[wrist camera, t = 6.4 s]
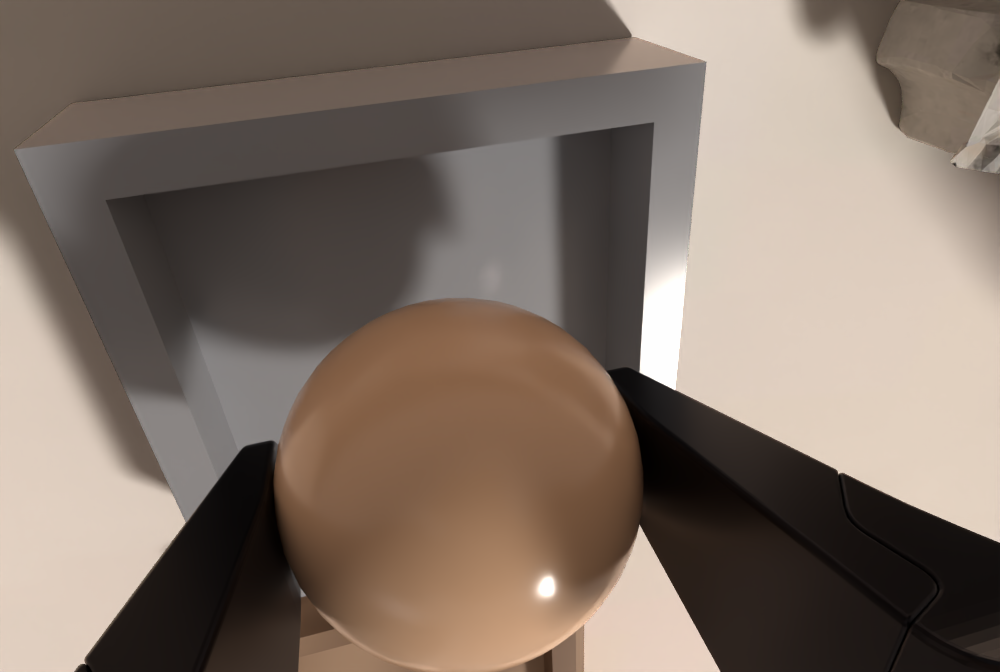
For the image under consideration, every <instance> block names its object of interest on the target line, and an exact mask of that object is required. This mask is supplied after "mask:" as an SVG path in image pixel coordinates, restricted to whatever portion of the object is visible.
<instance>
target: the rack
mask: <svg viewBox="0 0 1000 672" xmlns="http://www.w3.org/2000/svg"><path fill="white" fill-rule="evenodd" d="M298 672H416V671H412V670H409V669H406V668H402V667H399V666H396V665H393V664H390V663H387V662H385V661H383V660H381V659H379V658H377V657H375V656H373V655H371V654H369V653H367V652H366V651H364V650H362V649H360V648H359V647H357V646H356V645H354V644H353V643H351V642H350V641H348V640H347V639H346V638H345V637H343V636H342V635H341V634H340V633H339V632H338V631H337V630H336V629H335V628H333V627H332V626H331V625H330V624H329V623H328V622H327V621H326V620H325V619H324V618H323V617H322V616H321V615H320V614H319V612H318V611H317V610H316V608H315V607H314V606H313V604H312V603H311V602H310V600H309V599H308V598H307V596H304V597H301V628H300V647H299V667H298ZM497 672H584V625H583V626H582V627H580V628H579V629H578V630H577V631H576V632H574V633H573V634H572V635H571V636H569V637H568V638H567V639H566V640H564V641H563V642H561V643H560V644H559V645H557V646H556V647H554V648H553V649H551V650H549V651H548V652H546V653H544V654H542V655H540V656H538V657H536V658H534V659H532V660H530V661H528V662H525V663H523V664H520V665H518V666H514V667H511V668H508V669H505V670H501V671H497Z"/></svg>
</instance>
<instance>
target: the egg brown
mask: <svg viewBox="0 0 1000 672" xmlns="http://www.w3.org/2000/svg"><path fill="white" fill-rule="evenodd" d="M643 487H644V485H643V464H642V457H641V451H640V446H639V440H638V436H637V433H636V429H635V426H634V423H633V420H632V418H631V415H630V413H629V410H628V407H627V405H626V403H625V401H624V399H623V397H622V395H621V394H620V392H619V390H618V388H617V387H616V385H615V383H614V382H613V380H612V378H611V377H610V375H609V374H608V372H607V371H606V370H605V369H604V368H603V366H602V365H601V364H600V363H599V362H598V361H597V359H596V358H595V357H594V356H593V355H592V354H591V353H590V352H589V350H588V349H587V348H586V347H585V346H583V345H582V344H581V343H580V342H578V341H577V340H576V339H575V338H573V337H572V336H571V335H570V334H568V333H567V332H566V331H565V330H563V329H562V328H561V327H559V326H557V325H556V324H554V323H552V322H550V321H549V320H547V319H545V318H543V317H541V316H539V315H537V314H534V313H532V312H530V311H527V310H525V309H522V308H520V307H517V306H514V305H510V304H506V303H502V302H498V301H493V300H485V299H476V298H443V299H435V300H427V301H423V302H419V303H415V304H411V305H407V306H404V307H402V308H399V309H396V310H393V311H391V312H388V313H386V314H384V315H382V316H380V317H378V318H376V319H374V320H372V321H370V322H369V323H367V324H366V325H364V326H362V327H361V328H359V329H358V330H356V331H355V332H353V333H352V334H351V335H349V336H348V337H347V338H346V339H344V340H343V341H342V342H341V343H340V344H338V345H337V346H336V347H335V348H334V349H333V350H331V351H330V352H329V354H328V355H327V356H326V357H325V358H324V359H323V360H322V361H321V362H320V363H319V365H318V366H317V367H316V368H315V370H314V371H313V373H312V374H311V376H310V377H309V378H308V380H307V381H306V383H305V384H304V386H303V387H302V389H301V390H300V392H299V393H298V395H297V397H296V399H295V401H294V403H293V405H292V407H291V409H290V411H289V414H288V416H287V419H286V422H285V424H284V427H283V431H282V434H281V437H280V440H279V444H278V449H277V456H276V463H275V470H274V478H273V489H274V507H275V516H276V523H277V528H278V531H279V535H280V539H281V543H282V547H283V551H284V555H285V557H286V559H287V561H288V563H289V565H290V567H291V570H292V572H293V574H294V576H295V578H296V580H297V582H298V584H299V586H300V588H301V589H302V591H303V592H304V593H305V595H306V596H307V598H308V599H309V600H310V602H311V603H312V604H313V606H314V607H315V608H316V610H317V611H318V612H319V614H320V615H321V616H322V617H323V618H324V619H325V620H326V621H327V622H328V623H329V624H330V625H331V626H332V627H333V628H335V629H336V630H337V631H338V632H339V633H340V634H341V635H342V636H343V637H345V638H346V639H347V640H348V641H350V642H351V643H353V644H354V645H356V646H357V647H359V648H360V649H362V650H364V651H366V652H367V653H369V654H371V655H373V656H375V657H377V658H379V659H381V660H383V661H385V662H387V663H390V664H393V665H396V666H399V667H402V668H406V669H409V670H412V671H416V672H497V671H501V670H505V669H508V668H511V667H514V666H518V665H520V664H523V663H525V662H528V661H530V660H532V659H534V658H536V657H538V656H540V655H542V654H544V653H546V652H548V651H549V650H551V649H553V648H554V647H556V646H557V645H559V644H560V643H561V642H563V641H564V640H566V639H567V638H568V637H569V636H571V635H572V634H573V633H574V632H576V631H577V630H578V629H579V628H580V627H582V626H583V625H584V624H585V623H586V622H587V621H588V620H589V619H590V618H591V617H592V616H593V615H594V614H595V612H596V611H597V610H598V609H599V607H600V606H601V605H602V604H603V602H604V601H605V600H606V598H607V597H608V595H609V594H610V593H611V591H612V590H613V588H614V587H615V585H616V583H617V582H618V580H619V578H620V576H621V574H622V572H623V570H624V568H625V566H626V563H627V561H628V559H629V557H630V554H631V552H632V549H633V546H634V543H635V540H636V537H637V532H638V528H639V524H640V519H641V513H642V506H643Z"/></svg>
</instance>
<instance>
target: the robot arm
mask: <svg viewBox="0 0 1000 672" xmlns="http://www.w3.org/2000/svg"><path fill="white" fill-rule="evenodd" d="M606 371H607V372H608V374H609V375H610V377H611V378H612V380H613V382H614V383H615V385H616V387H617V388H618V390H619V392H620V394H621V395H622V397H623V399H624V401H625V403H626V405H627V407H628V410H629V413H630V415H631V418H632V420H633V423H634V426H635V429H636V433H637V436H638V440H639V446H640V451H641V457H642V464H643V485H644V487H643V506H642V513H641V519H640V526H641V528H642V530H643V532H644V533H645V535H646V537H647V539H648V541H649V543H650V544H651V546H652V548H653V550H654V552H655V553H656V555H657V557H658V559H659V561H660V563H661V564H662V566H663V568H664V570H665V572H666V573H667V575H668V577H669V579H670V581H671V583H672V584H673V586H674V588H675V590H676V592H677V593H678V595H679V597H680V599H681V601H682V603H683V604H684V606H685V608H686V610H687V612H688V613H689V615H690V617H691V619H692V621H693V623H694V624H695V626H696V628H697V630H698V632H699V633H700V635H701V637H702V639H703V641H704V643H705V644H706V646H707V648H708V650H709V652H710V653H711V655H712V657H713V659H714V661H715V663H716V664H717V666H718V668H719V670H720V672H1000V543H999V542H996V541H994V540H992V539H989V538H987V537H984V536H982V535H979V534H977V533H975V532H972V531H970V530H967V529H965V528H962V527H960V526H958V525H955V524H953V523H951V522H948V521H946V520H944V519H941V518H939V517H937V516H934V515H932V514H930V513H927V512H925V511H923V510H921V509H918V508H916V507H914V506H911V505H909V504H907V503H905V502H903V501H901V500H898V499H896V498H894V497H892V496H890V495H888V494H886V493H884V492H882V491H879V490H877V489H875V488H873V487H871V486H869V485H867V484H865V483H863V482H861V481H859V480H857V479H855V478H853V477H851V476H849V475H847V474H845V473H840V474H839V475H838V471H837V470H836V469H834V468H832V467H830V466H828V465H826V464H824V463H822V462H820V461H818V460H816V459H814V458H812V457H810V456H808V455H806V454H804V453H802V452H800V451H798V450H796V449H794V448H792V447H790V446H788V445H786V444H783V443H781V442H779V441H777V440H775V439H773V438H771V437H769V436H767V435H765V434H763V433H761V432H759V431H757V430H755V429H753V428H751V427H749V426H747V425H745V424H743V423H741V422H739V421H737V420H735V419H733V418H731V417H729V416H727V415H725V414H723V413H721V412H719V411H717V410H715V409H713V408H711V407H709V406H707V405H705V404H703V403H701V402H699V401H697V400H695V399H692V398H690V397H688V396H686V395H684V394H682V393H680V392H678V391H676V390H674V389H672V388H670V387H668V386H666V385H664V384H662V383H660V382H658V381H656V380H654V379H652V378H650V377H648V376H646V375H644V374H642V373H640V372H638V371H636V370H634V369H632V368H629V367H621V368H616V369H611V370H606ZM277 449H278V444H277V443H276V442H275V441H273V440H269V441H264V442H259V443H254V444H249V445H246V446H244V447H243V448H242V449H241V450H240V451H239V453H238V454H237V455H236V457H235V458H234V459H233V461H232V462H231V463H230V465H229V466H228V467H227V469H226V470H225V471H224V473H223V474H222V475H221V477H220V478H219V479H218V481H217V482H216V483H215V485H214V486H213V487H212V489H211V490H210V491H209V493H208V494H207V495H206V497H205V498H204V499H203V501H202V502H201V503H200V505H199V506H198V507H197V509H196V510H195V511H194V513H193V514H192V515H191V517H190V518H189V519H188V521H187V522H186V523H185V525H184V526H183V527H182V529H181V530H180V531H179V533H178V534H177V535H176V537H175V538H174V539H173V541H172V542H171V543H170V545H169V546H168V547H167V549H166V550H165V552H164V553H163V554H162V556H161V557H160V558H159V560H158V561H157V562H156V564H155V565H154V566H153V568H152V569H151V570H150V572H149V573H148V574H147V576H146V577H145V578H144V580H143V581H142V582H141V584H140V585H139V586H138V588H137V589H136V590H135V592H134V593H133V594H132V596H131V597H130V598H129V600H128V601H127V602H126V604H125V605H124V606H123V608H122V609H121V610H120V612H119V613H118V614H117V616H116V617H115V618H114V620H113V621H112V622H111V624H110V625H109V626H108V628H107V629H106V630H105V632H104V633H103V634H102V636H101V637H100V638H99V640H98V641H97V642H96V644H95V645H94V646H93V648H92V649H91V650H90V652H89V653H88V655H87V656H86V657H85V663H86V664H81V665H79V666H78V667H77V669H76V670H75V671H74V672H298V667H299V647H300V628H301V588H300V586H299V584H298V582H297V580H296V578H295V576H294V574H293V572H292V570H291V567H290V565H289V563H288V561H287V559H286V557H285V555H284V551H283V547H282V543H281V539H280V535H279V531H278V528H277V523H276V516H275V507H274V489H273V478H274V470H275V463H276V456H277Z"/></svg>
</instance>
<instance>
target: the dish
mask: <svg viewBox="0 0 1000 672" xmlns="http://www.w3.org/2000/svg"><path fill="white" fill-rule="evenodd" d="M705 71H706V62H705V61H703V60H700V59H697V58H694V57H691V56H688V55H685V54H682V53H679V52H677V51H674V50H671V49H668V48H665V47H662V46H659V45H656V44H653V43H651V42H648V41H645V40H642V39H639V38H636V37H631V38H622V39H614V40H605V41H597V42H588V43H580V44H571V45H563V46H554V47H545V48H537V49H528V50H520V51H511V52H503V53H494V54H486V55H477V56H469V57H460V58H452V59H443V60H435V61H426V62H418V63H409V64H401V65H392V66H384V67H375V68H367V69H358V70H349V71H341V72H332V73H324V74H315V75H307V76H298V77H290V78H281V79H273V80H264V81H256V82H247V83H239V84H230V85H222V86H213V87H205V88H196V89H188V90H179V91H171V92H162V93H154V94H145V95H136V96H128V97H119V98H111V99H102V100H94V101H85V102H77V103H71V104H70V105H69V106H67V107H66V108H65V109H64V110H62V111H61V112H60V113H59V114H57V115H56V116H55V117H54V118H52V119H51V120H50V121H49V122H47V123H46V124H45V125H44V126H42V127H41V128H40V129H39V130H37V131H36V132H35V133H34V134H32V135H31V136H30V137H29V138H27V139H26V140H25V141H24V142H22V143H21V144H20V145H19V146H18V147H16V148H15V149H14V152H15V154H16V156H17V158H18V160H19V163H20V165H21V167H22V169H23V171H24V173H25V176H26V178H27V180H28V182H29V184H30V186H31V189H32V191H33V193H34V195H35V197H36V199H37V201H38V204H39V206H40V208H41V210H42V212H43V214H44V217H45V219H46V221H47V223H48V225H49V227H50V230H51V232H52V234H53V236H54V238H55V240H56V243H57V245H58V247H59V249H60V251H61V253H62V256H63V258H64V260H65V262H66V264H67V266H68V269H69V271H70V273H71V275H72V277H73V279H74V281H75V284H76V286H77V288H78V290H79V292H80V294H81V297H82V299H83V301H84V303H85V305H86V307H87V310H88V312H89V314H90V316H91V318H92V320H93V323H94V325H95V327H96V329H97V331H98V333H99V336H100V338H101V340H102V342H103V344H104V346H105V349H106V351H107V353H108V355H109V357H110V359H111V362H112V364H113V366H114V368H115V370H116V372H117V374H118V377H119V379H120V381H121V383H122V385H123V387H124V390H125V392H126V394H127V396H128V398H129V400H130V403H131V405H132V407H133V409H134V411H135V413H136V416H137V418H138V420H139V422H140V424H141V426H142V429H143V431H144V433H145V435H146V437H147V439H148V442H149V444H150V446H151V448H152V450H153V452H154V454H155V457H156V459H157V461H158V463H159V465H160V467H161V470H162V472H163V474H164V476H165V478H166V480H167V483H168V485H169V487H170V489H171V491H172V493H173V496H174V498H175V500H176V502H177V504H178V506H179V509H180V511H181V513H182V515H183V517H184V519H185V522H187V521H188V519H189V518H190V517H191V515H192V514H193V513H194V511H195V510H196V509H197V507H198V506H199V505H200V503H201V502H202V501H203V499H204V498H205V497H206V495H207V494H208V493H209V491H210V490H211V489H212V487H213V486H214V485H215V483H216V482H217V481H218V479H219V478H220V477H221V475H222V474H223V473H224V471H225V470H226V469H227V467H228V466H229V465H230V463H231V462H232V461H233V459H234V458H235V457H236V455H237V454H238V453H239V451H240V450H241V449H242V448H243V447H244V446H246V445H249V444H254V443H259V442H264V441H269V440H273V441H275V442H276V443H277V444H279V440H280V437H281V434H282V431H283V427H284V424H285V422H286V419H287V416H288V414H289V411H290V409H291V407H292V405H293V403H294V401H295V399H296V397H297V395H298V393H299V392H300V390H301V389H302V387H303V386H304V384H305V383H306V381H307V380H308V378H309V377H310V376H311V374H312V373H313V371H314V370H315V368H316V367H317V366H318V365H319V363H320V362H321V361H322V360H323V359H324V358H325V357H326V356H327V355H328V354H329V352H330V351H331V350H333V349H334V348H335V347H336V346H337V345H338V344H340V343H341V342H342V341H343V340H344V339H346V338H347V337H348V336H349V335H351V334H352V333H353V332H355V331H356V330H358V329H359V328H361V327H362V326H364V325H366V324H367V323H369V322H370V321H372V320H374V319H376V318H378V317H380V316H382V315H384V314H386V313H388V312H391V311H393V310H396V309H399V308H402V307H404V306H407V305H411V304H415V303H419V302H423V301H427V300H435V299H443V298H476V299H485V300H493V301H498V302H502V303H506V304H510V305H514V306H517V307H520V308H522V309H525V310H527V311H530V312H532V313H534V314H537V315H539V316H541V317H543V318H545V319H547V320H549V321H550V322H552V323H554V324H556V325H557V326H559V327H561V328H562V329H563V330H565V331H566V332H567V333H568V334H570V335H571V336H572V337H573V338H575V339H576V340H577V341H578V342H580V343H581V344H582V345H583V346H585V347H586V348H587V349H588V350H589V352H590V353H591V354H592V355H593V356H594V357H595V358H596V359H597V361H598V362H599V363H600V364H601V365H602V366H603V368H604V369H605V370H611V369H616V368H621V367H629V368H632V369H634V370H636V371H638V372H640V373H642V374H644V375H646V376H648V377H650V378H652V379H654V380H656V381H658V382H660V383H662V384H664V385H666V386H668V387H670V388H672V389H674V390H675V385H676V375H677V364H678V354H679V343H680V333H681V322H682V312H683V301H684V291H685V280H686V270H687V259H688V249H689V238H690V228H691V217H692V207H693V197H694V186H695V176H696V165H697V155H698V144H699V134H700V123H701V113H702V102H703V92H704V81H705ZM304 596H306V595H305V593H304V592H303V591H302V589H301V597H304Z"/></svg>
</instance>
